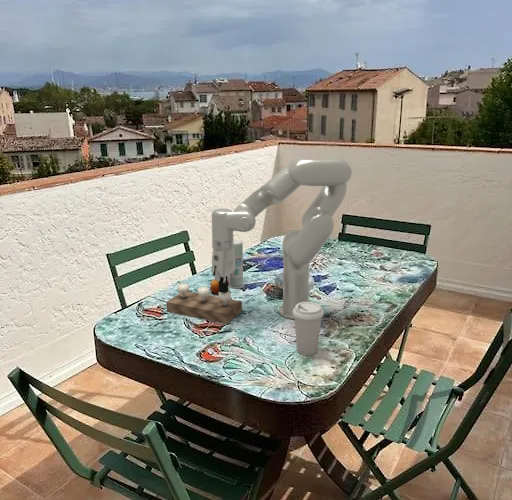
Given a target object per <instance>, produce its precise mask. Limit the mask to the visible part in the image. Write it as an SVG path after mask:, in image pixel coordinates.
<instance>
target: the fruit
mask: <svg viewBox="0 0 512 500" xmlns="http://www.w3.org/2000/svg"><path fill="white" fill-rule="evenodd" d="M228 287H229V281H228ZM209 290H210V291H211V292H212V293H213V294H215V295H219V282H218V281H215V278H213V279H212V280H211V281H210V284H209Z"/></svg>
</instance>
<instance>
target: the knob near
mask: <svg viewBox="0 0 512 500" xmlns="http://www.w3.org/2000/svg"><path fill="white" fill-rule="evenodd" d="M231 293H232V292H231V290H228V292H227V293H222V292H219V294H218V297H219V300H221V301H223V306H227V301H228V300H230V299H232V298H231V297H232V294H231Z"/></svg>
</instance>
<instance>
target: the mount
mask: <svg viewBox="0 0 512 500" xmlns="http://www.w3.org/2000/svg"><path fill="white" fill-rule="evenodd" d="M185 296H186V298H182V293H178V294H177V295H175V296H174V297H172V298H170V299H169V300H167V301H166V302H165V303H166V312H167V313H172V314H177V315H182V316H186V317H192V318H196V319H201V320H206V321H209V322H210V321H211V322H215V323H221V324H226V325H228V324H229V323H230V322H231V321H232V320H234V319H235V318H236V317H237V316H238V315H239V314H240V313H242V312H243V302H242V301H241V300H237V299H236V300H235V299H232V298H231V299H230V300H228V301H227V306H223V301H221V300H219V296H215V295H209V296H207V297H206V302H203V301H202V297H199V296H198V292H194V291H193V292H192V291H189V292H187V293H185Z"/></svg>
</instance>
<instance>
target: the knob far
mask: <svg viewBox="0 0 512 500" xmlns="http://www.w3.org/2000/svg"><path fill="white" fill-rule="evenodd" d="M177 292H178V294H180V293H182V298H186V296H185V293H187V292H190V284H189V283H185V282H181V283H178V284H177Z"/></svg>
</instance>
